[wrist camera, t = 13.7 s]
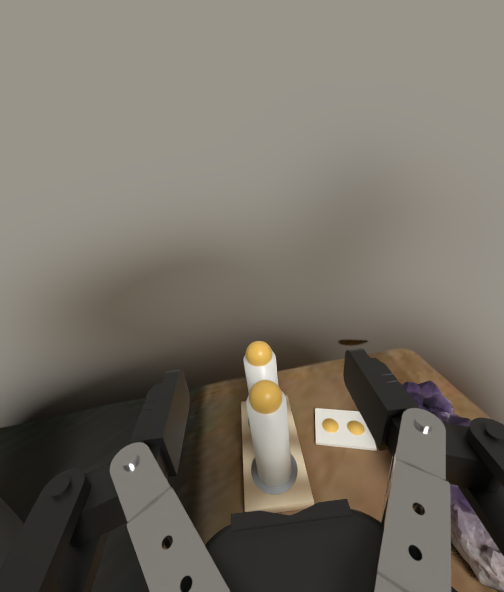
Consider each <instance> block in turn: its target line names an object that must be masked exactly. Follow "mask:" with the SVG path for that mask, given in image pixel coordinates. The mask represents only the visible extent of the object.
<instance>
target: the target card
mask: <svg viewBox="0 0 504 592" xmlns="http://www.w3.org/2000/svg"><path fill="white" fill-rule="evenodd" d="M315 429H316V444H318V445H327V446H337V447H346V448H356V449H365V450H375V451H376V445H375V441H374V439H373V437H372V435H371V433H370V431H369V429H368V427H367V425H366V423H365V421H364V420H363V418H362V416H361V414H360V412H359V411H346V410H332V409H319V408H315Z"/></svg>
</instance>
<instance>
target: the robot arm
mask: <svg viewBox="0 0 504 592" xmlns="http://www.w3.org/2000/svg"><path fill="white" fill-rule="evenodd" d="M344 381H345V385H346V387H347V389H348V391H349V393H350V395H351V397H352V399H353V401H354V402H355V404H356V406H357V408H358V410H359V412H360V414H361V416H362V418H363V420H364V421H365V423H366V425H367V427H368V429H369V431H370V433H371V435H372V437H373V439H374V440H375V442H376V444H377V446H378V448H379V450H386V449H389V450H390V452H391V454H392V455H393V457H392V461H391V467H390V472H389V478H388V484H387V489H386V495H385V500H384V506H383V510H382V515H381V520H380V522H379V521H378V520H376V519H375V518H373V517H371V516H370V515H367V514H365V513H363V512H360V511H357V510H354V509H350V507H349V504H348V501H347V499H342V500H334V501H326V502H319V503H317V504H314V505H312V506H310V507H308V508H306V509H304V510H302V511H300V512H298V513H296V514H294V515H283V514H277V513H272V512H266V511H261V510H258V511H251V512H243V513H235V514H231V524H230V525H228V526H226V527H225V528H223V529H222V530H220V531H219V532H218V533H216V534H215V535H214V536H213V537H212V538H211V539H210V540H209V541H208V542H207V544H206V545H204V543H203V542H202V540H201V538H200V536H199V535H198V533H197V531H196V529H195V527H194V526H193V524H192V522H191V520H190V518H189V517H188V515H187V513H186V511H185V509H184V508H183V506H182V504H181V502H180V500H179V499H178V497H177V495H176V493H175V491H174V490H173V488H172V487H170V485H169V483H168V481H167V480H168V476H175V475H177V472H178V466H179V461H180V455H181V450H182V444H183V438H184V433H185V427H186V422H187V416H188V411H189V405H190V396H189V391H188V387H187V383H186V380H185V376H184V372H183V370H174V371H167V372H166V373H165V375H164V378H163V381H162V383H158V384H155V385H154V386H153V387H152V388H151V390H150V391H149V392H148V393H147V396H146V399H145V401H144V404H143V407H142V409H141V413H140V415H139V417H138V420H137V423H136V425H135V428H134V430H133V433H132V436H131V438H130V441H129V444H128V446H126V447H124V448H123V449H122V450H120V451H119V452H118V453H117V454H116V456H115V457H114V458H113V460H112V462H111V463H110V464H108V465H106V466H103V467H101V468H99V469H96V470H94V471H92V472H89V473H87V474H84V472H83V471H82V470H81V469H78V468H71V469H68V470H65V471H63V472H61V473H59V474H58V475H56V476H55V477H54V478H52V479H51V480H50V481H49V482H48V483H47V484H46V486H45V487H44V488H43V490H42V491H41V493H40V495H39V496H38V498H37V500H36V502H35V504H34V506H33V508H32V509H31V511H30V513H29V515H28V517H27V519H26V521H25V522H24V523H23V522H22V521H21V519H20V518H19V517H18V516H17V515H16V514H15V513H14V512H13V511H12V509H11V508H10V507H9V506H8V505H7V504H6V503H5V502H4V501H3V500H2V498H1V497H0V592H91V589H92V585H93V582H94V579H95V575H96V572H97V568H98V565H99V562H100V558H101V555H102V551H103V548H104V545H105V541H106V538H107V534H108V532H109V531H111V530H112V529H114V528H116V527H118V526H120V525H122V524H124V523H126V522H127V528H128V531H129V534H130V537H131V540H132V543H133V546H134V548H135V551H136V554H137V557H138V560H139V562H140V565H141V568H142V571H143V574H144V577H145V579H146V582H147V585H148V588H149V591H150V592H457V591H456V590H455V589H454V588H453V587H452V586H451V510H450V484H452V485H457V486H458V487H459V489H460V490H461V492H462V493H463V495H464V496H465V498H466V500H467V501H468V503H469V504H470V506H471V507H472V509H473V510H474V512H475V513H476V515H477V516H478V518H479V519H480V521H481V523H482V524H483V526H484V527H485V529H486V530H487V532H488V533H489V535H490V536H491V538H492V539H493V541H494V542H495V544H496V545H497V547H498V549H499V550H500V552H501V553H502V555H503V556H504V425H503V424H501V423H499V422H497V421H494V420H491V419H487V418H476V419H474V420H472V421H471V423H470V425H469V427H468V426H462V425H455V424H449V423H444V422H441V420H440V419H439V418H438V417H436V416H435V415H434V414H432V413H430V412H428V411H426V410H423V409H420V408H419V407H418V405H417V404H416V403H415V402H414V400H413V399H412V398H411V397H410V395H409V394H408V393H407V391H406V390H405V389H404V388H403V386H402V385H401V384H400V383H399V382H398V381H397V379H396V377H395V376H394V375H392V372H391V371H390V370H389V369H388V367H387V366H386V365H385V364H384V363H382V362H381V361H379V360H378V359H376V358H371V359H370V357H369V356H368V355H367V353H366V352H365V351H364V350H363V349H354V350H347V351H346V353H345V363H344Z"/></svg>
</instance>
